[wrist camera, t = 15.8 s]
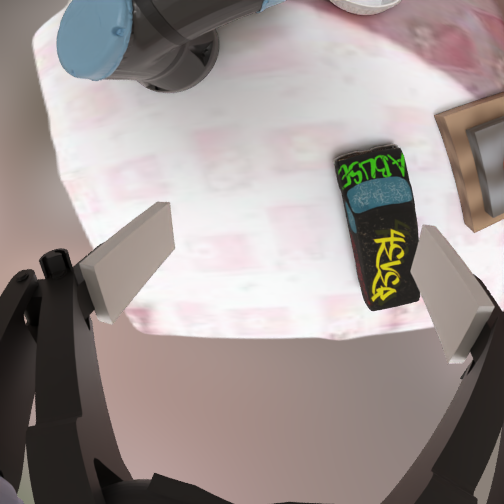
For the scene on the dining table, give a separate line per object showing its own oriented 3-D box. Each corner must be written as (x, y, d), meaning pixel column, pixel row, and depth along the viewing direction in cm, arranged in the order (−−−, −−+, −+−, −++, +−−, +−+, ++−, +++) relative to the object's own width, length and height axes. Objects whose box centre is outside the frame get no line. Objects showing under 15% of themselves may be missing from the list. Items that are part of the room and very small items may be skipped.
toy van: (393, 140, 39) (414, 149, 30) (411, 274, 49) (426, 307, 40) (329, 154, 42) (334, 166, 34) (358, 286, 52) (365, 321, 43)
